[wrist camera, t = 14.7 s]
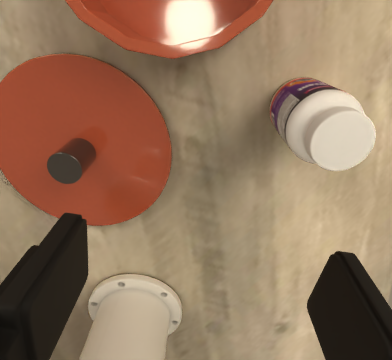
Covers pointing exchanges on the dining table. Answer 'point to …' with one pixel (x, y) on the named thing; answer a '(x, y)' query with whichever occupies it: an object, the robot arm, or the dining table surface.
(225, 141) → the dining table surface
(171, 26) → the pot
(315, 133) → the pill bottle
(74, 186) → the lid
